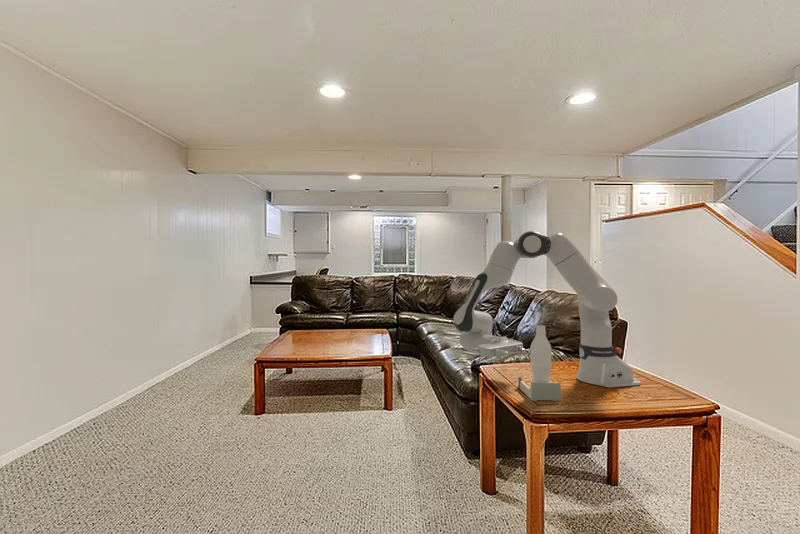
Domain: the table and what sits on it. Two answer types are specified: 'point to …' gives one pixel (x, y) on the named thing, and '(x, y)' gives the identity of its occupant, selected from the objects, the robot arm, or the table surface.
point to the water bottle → (540, 356)
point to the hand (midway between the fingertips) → (515, 352)
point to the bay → (542, 390)
